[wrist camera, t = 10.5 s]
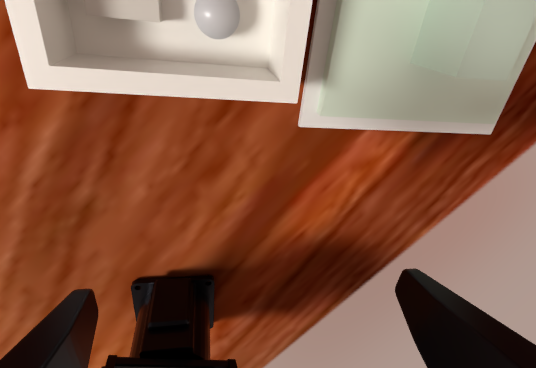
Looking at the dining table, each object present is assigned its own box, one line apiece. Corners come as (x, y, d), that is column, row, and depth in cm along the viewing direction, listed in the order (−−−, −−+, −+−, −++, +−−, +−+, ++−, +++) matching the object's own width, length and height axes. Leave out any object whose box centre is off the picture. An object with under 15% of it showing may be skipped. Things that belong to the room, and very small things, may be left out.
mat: (486, 132, 24) (490, 134, 23) (297, 124, 21) (299, 126, 20) (614, -138, 16) (623, -141, 16) (350, -212, 13) (354, -217, 13)
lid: (485, 120, 23) (547, 146, 19) (316, 112, 20) (345, 140, 16) (596, -120, 16) (726, -159, 12) (369, -178, 14) (439, -253, 10)
